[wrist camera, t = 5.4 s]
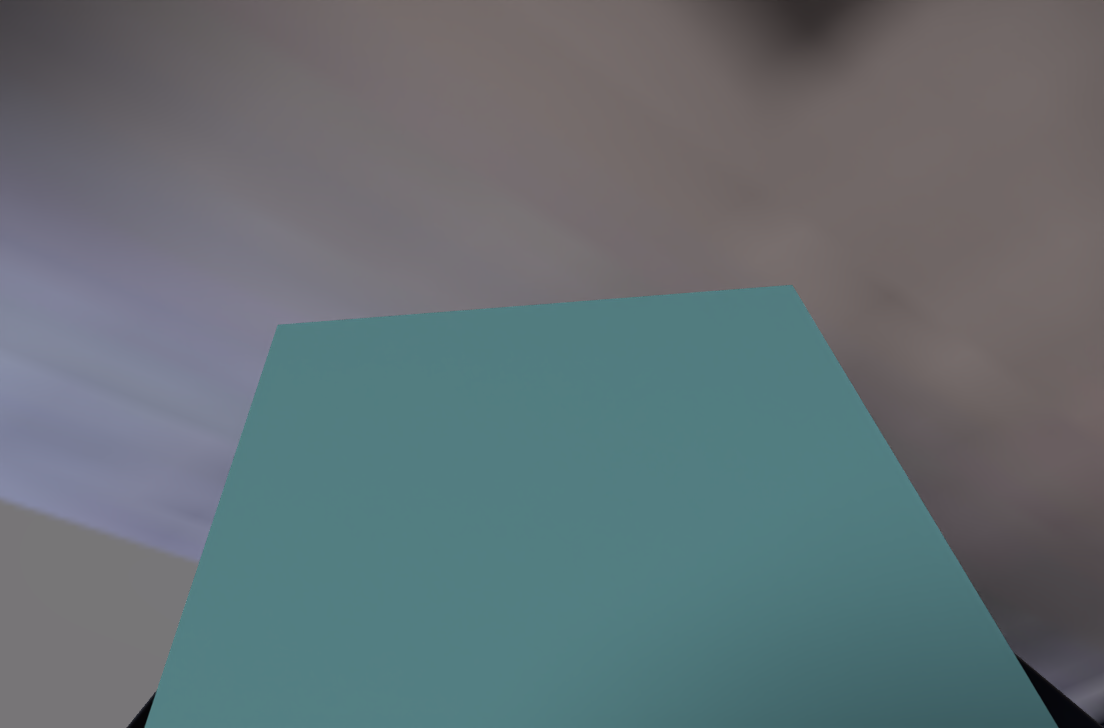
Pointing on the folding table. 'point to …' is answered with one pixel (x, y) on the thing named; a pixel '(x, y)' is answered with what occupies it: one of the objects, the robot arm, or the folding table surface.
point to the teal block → (578, 535)
